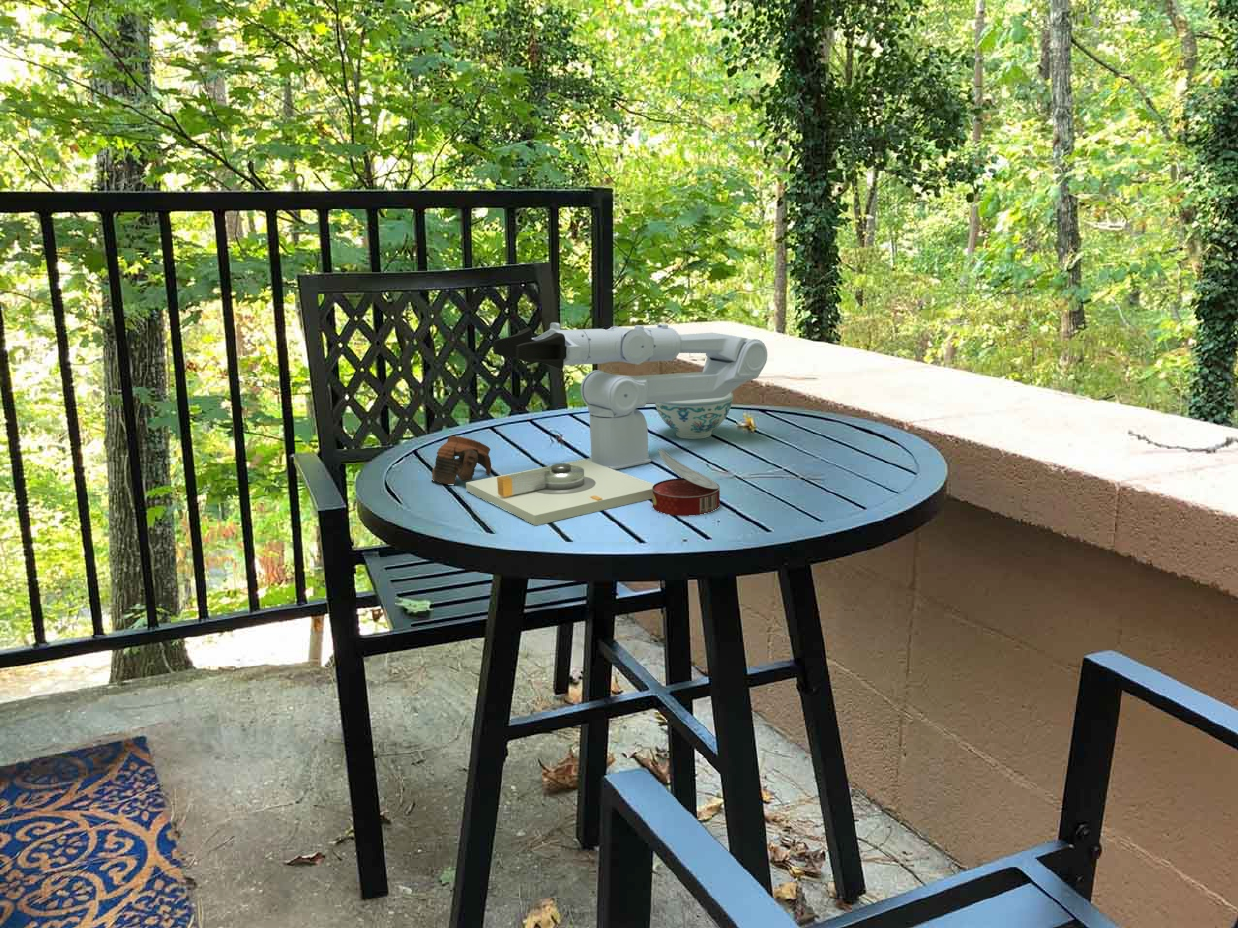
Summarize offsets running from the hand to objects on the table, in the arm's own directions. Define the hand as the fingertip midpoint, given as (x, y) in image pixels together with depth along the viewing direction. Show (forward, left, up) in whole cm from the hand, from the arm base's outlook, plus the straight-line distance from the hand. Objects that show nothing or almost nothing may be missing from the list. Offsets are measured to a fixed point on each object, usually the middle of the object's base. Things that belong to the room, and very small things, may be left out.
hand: (505, 350), depth 153 cm
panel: (-3, +10, -22) cm, 24 cm away
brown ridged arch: (+5, -8, -22) cm, 24 cm away
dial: (0, +10, -20) cm, 22 cm away
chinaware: (-43, -8, -22) cm, 49 cm away
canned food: (-14, +27, -22) cm, 38 cm away
